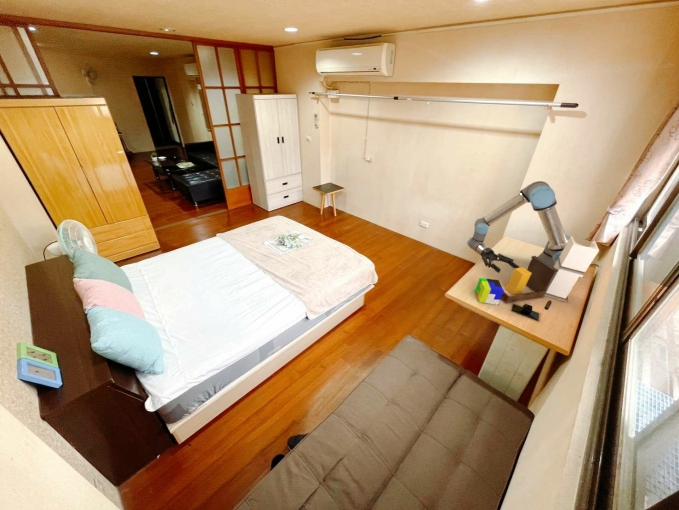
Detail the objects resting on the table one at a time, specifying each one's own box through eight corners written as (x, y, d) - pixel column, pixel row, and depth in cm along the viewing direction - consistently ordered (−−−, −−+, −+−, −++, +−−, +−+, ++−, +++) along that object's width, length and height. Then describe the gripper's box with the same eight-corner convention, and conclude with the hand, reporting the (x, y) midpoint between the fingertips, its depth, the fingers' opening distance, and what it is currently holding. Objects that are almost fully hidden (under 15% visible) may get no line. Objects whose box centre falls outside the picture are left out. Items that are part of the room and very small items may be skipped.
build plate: (511, 311, 144) (514, 304, 142) (513, 304, 149) (516, 297, 147) (538, 321, 138) (541, 314, 136) (538, 313, 143) (542, 306, 141)
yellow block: (513, 287, 162) (523, 267, 155) (521, 293, 157) (531, 273, 150) (505, 288, 161) (514, 268, 153) (513, 294, 156) (523, 274, 148)
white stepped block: (566, 302, 152) (599, 250, 133) (544, 295, 156) (573, 244, 138) (564, 291, 160) (595, 241, 142) (543, 285, 165) (570, 235, 146)
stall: (522, 281, 168) (535, 255, 158) (544, 297, 155) (559, 270, 145) (486, 286, 163) (497, 260, 153) (505, 303, 150) (518, 276, 140)
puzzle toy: (497, 304, 148) (504, 290, 143) (479, 301, 150) (484, 288, 145) (492, 293, 157) (498, 280, 152) (475, 290, 158) (480, 277, 153)
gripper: (499, 255, 183) (523, 272, 165) (467, 258, 178) (489, 276, 160) (502, 245, 179) (528, 262, 161) (471, 249, 174) (493, 266, 156)
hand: (509, 269), depth 161 cm, fingers open, 13 cm apart
